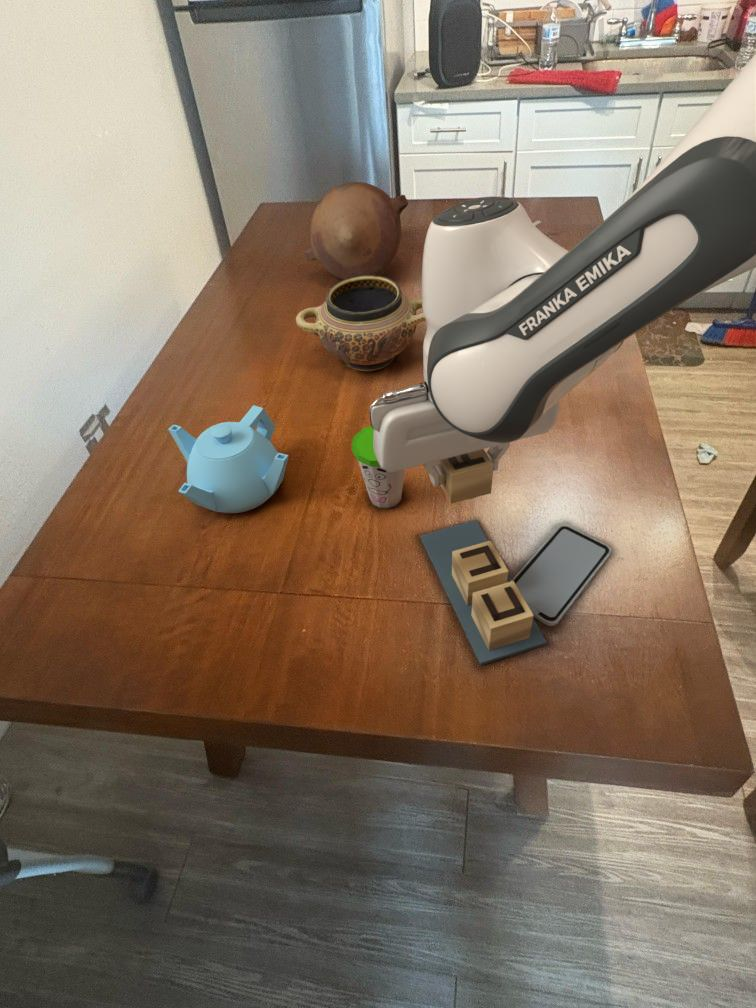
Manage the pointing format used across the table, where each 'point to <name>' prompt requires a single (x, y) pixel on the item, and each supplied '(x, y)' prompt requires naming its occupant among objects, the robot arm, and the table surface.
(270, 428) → the teapot
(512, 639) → the tile
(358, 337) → the ceramic bowl
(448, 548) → the mat
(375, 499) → the cup
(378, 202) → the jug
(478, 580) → the tile
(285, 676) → the table surface
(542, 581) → the smartphone
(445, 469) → the tile
